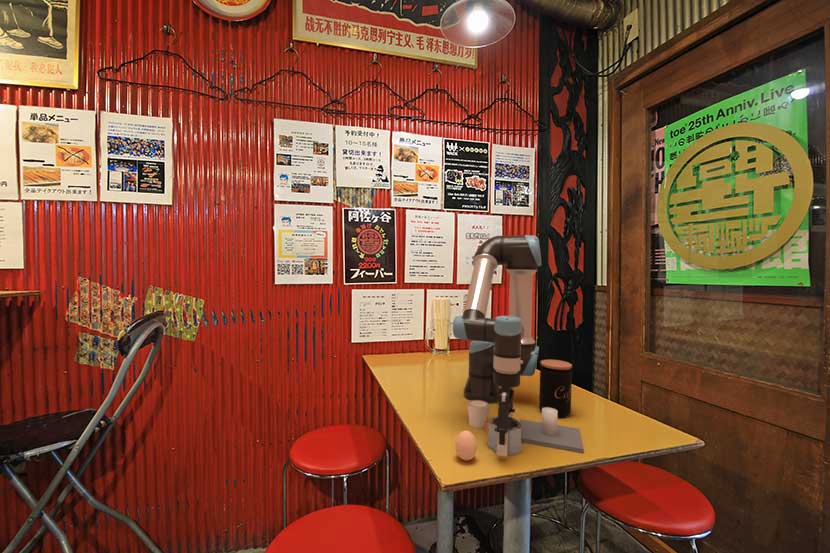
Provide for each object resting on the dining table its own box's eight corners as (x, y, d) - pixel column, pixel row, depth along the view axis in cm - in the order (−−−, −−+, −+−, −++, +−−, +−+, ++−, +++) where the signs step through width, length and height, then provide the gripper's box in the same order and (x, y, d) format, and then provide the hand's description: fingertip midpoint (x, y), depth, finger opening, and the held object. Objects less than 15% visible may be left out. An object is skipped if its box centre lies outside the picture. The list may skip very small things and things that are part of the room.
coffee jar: (556, 421, 121) (557, 368, 121) (532, 409, 131) (533, 361, 130) (577, 415, 126) (578, 365, 126) (553, 405, 136) (554, 358, 135)
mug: (481, 450, 100) (481, 425, 100) (486, 436, 109) (486, 413, 109) (519, 457, 97) (520, 432, 96) (522, 442, 105) (522, 419, 105)
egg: (452, 462, 94) (453, 433, 93) (457, 452, 99) (458, 425, 99) (474, 467, 91) (475, 437, 91) (478, 456, 97) (479, 428, 97)
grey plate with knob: (516, 441, 106) (517, 413, 106) (520, 422, 119) (520, 398, 119) (583, 453, 100) (584, 424, 100) (579, 432, 113) (579, 406, 113)
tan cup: (465, 420, 120) (465, 399, 120) (485, 419, 121) (485, 399, 121) (470, 429, 113) (470, 407, 113) (491, 428, 114) (491, 407, 114)
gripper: (516, 384, 89) (514, 468, 89) (523, 362, 112) (521, 428, 113) (486, 380, 92) (484, 462, 92) (499, 359, 115) (497, 424, 115)
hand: (504, 444), depth 102 cm, fingers open, 13 cm apart
